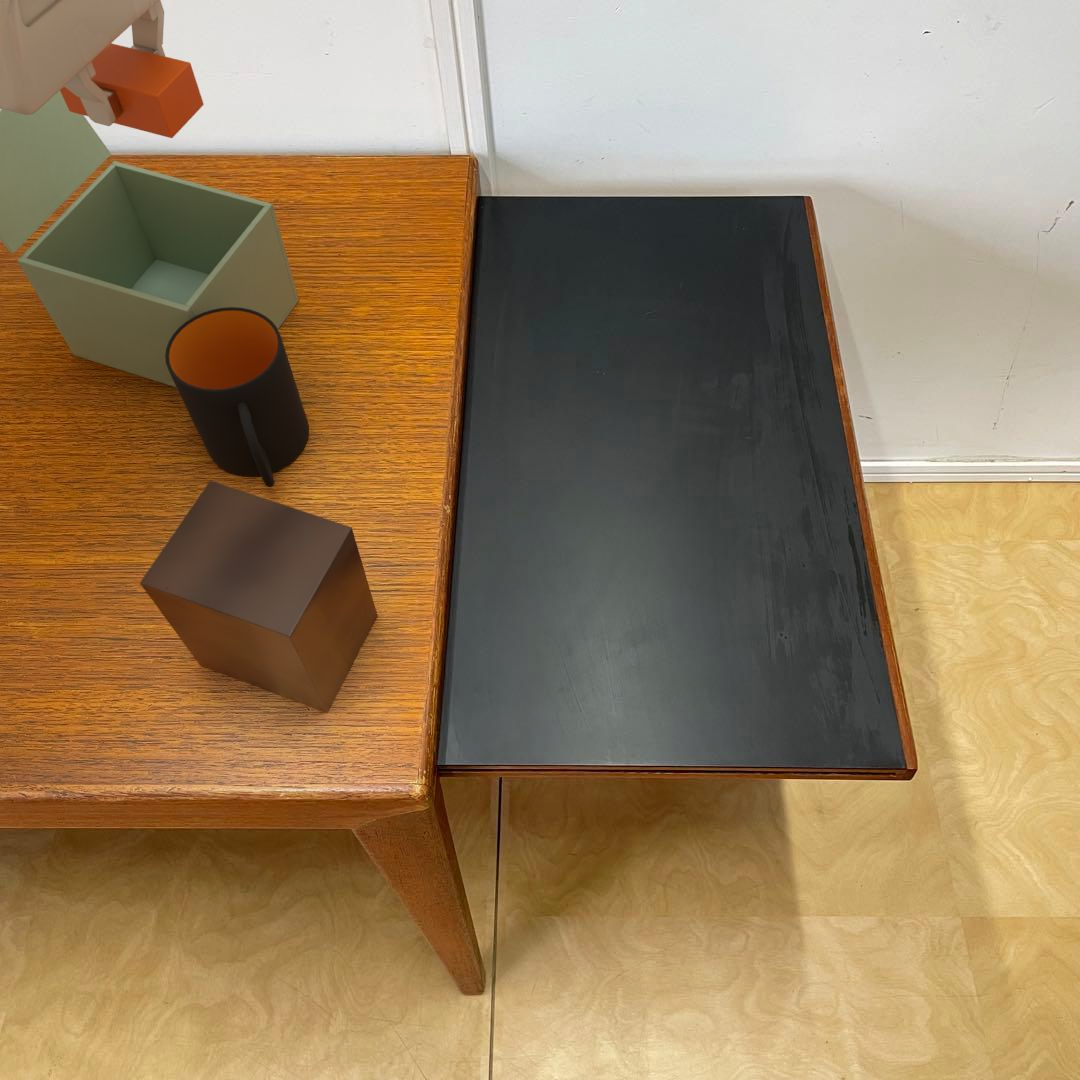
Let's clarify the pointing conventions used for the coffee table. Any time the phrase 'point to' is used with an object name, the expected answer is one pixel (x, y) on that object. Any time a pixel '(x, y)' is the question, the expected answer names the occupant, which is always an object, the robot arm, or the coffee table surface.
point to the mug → (239, 391)
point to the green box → (155, 265)
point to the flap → (42, 165)
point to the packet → (145, 89)
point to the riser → (265, 594)
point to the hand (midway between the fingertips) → (131, 96)
